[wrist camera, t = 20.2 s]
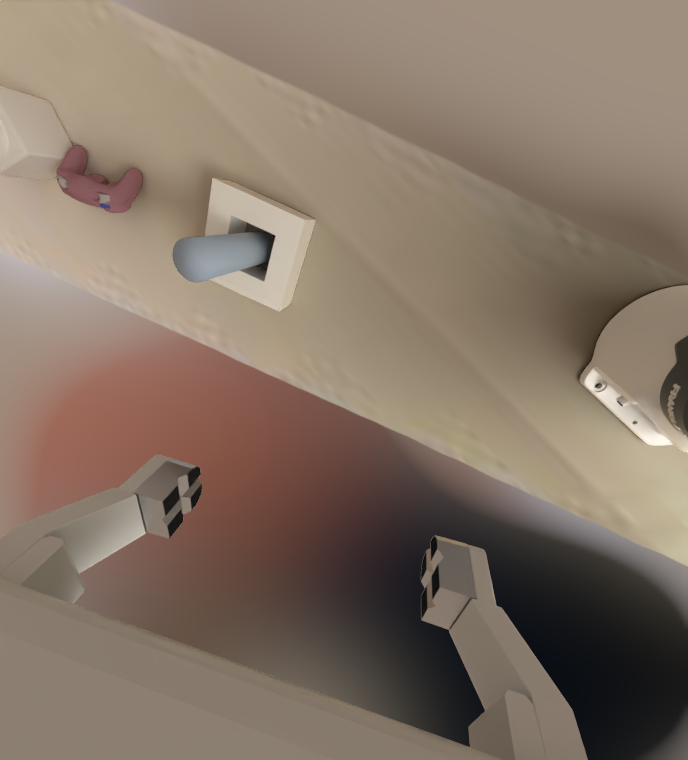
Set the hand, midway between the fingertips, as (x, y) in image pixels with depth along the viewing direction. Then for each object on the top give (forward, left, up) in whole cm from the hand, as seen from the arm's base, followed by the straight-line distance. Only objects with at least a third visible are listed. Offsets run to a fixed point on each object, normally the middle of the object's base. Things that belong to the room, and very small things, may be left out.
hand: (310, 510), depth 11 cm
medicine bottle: (+45, +25, -37) cm, 64 cm away
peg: (+16, +11, -37) cm, 42 cm away
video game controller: (+36, +22, -37) cm, 56 cm away
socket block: (+16, +11, -37) cm, 42 cm away
